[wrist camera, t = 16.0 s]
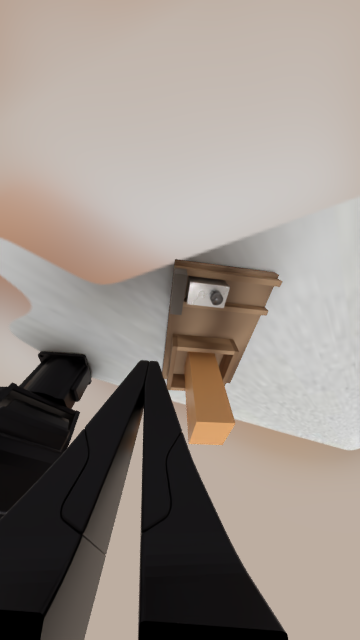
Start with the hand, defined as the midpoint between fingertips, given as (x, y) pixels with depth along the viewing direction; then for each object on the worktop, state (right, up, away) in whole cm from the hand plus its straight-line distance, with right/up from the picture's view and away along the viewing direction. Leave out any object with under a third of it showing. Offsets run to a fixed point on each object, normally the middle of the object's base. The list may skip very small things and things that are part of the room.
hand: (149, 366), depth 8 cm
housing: (+5, 0, +15) cm, 16 cm away
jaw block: (+4, -4, +17) cm, 17 cm away
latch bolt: (+4, +6, +11) cm, 13 cm away
